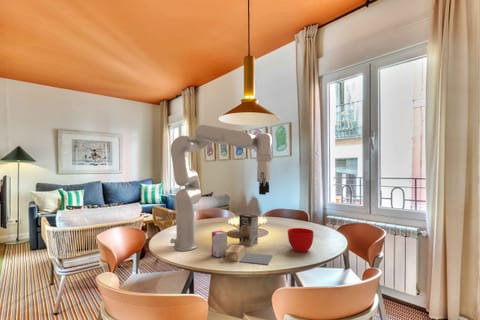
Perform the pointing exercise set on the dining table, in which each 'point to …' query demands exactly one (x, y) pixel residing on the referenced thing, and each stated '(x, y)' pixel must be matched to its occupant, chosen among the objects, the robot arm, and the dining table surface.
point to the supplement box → (219, 243)
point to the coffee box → (248, 229)
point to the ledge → (234, 253)
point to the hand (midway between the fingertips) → (264, 193)
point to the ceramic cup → (300, 239)
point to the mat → (256, 258)
